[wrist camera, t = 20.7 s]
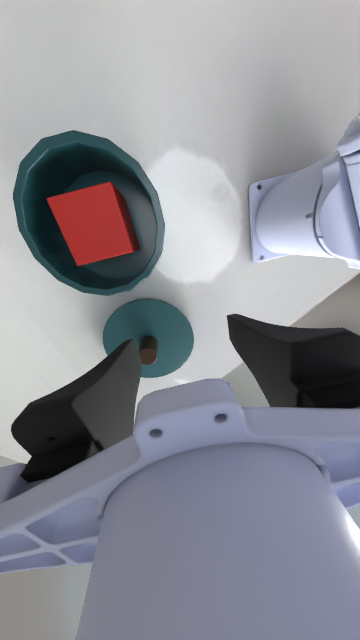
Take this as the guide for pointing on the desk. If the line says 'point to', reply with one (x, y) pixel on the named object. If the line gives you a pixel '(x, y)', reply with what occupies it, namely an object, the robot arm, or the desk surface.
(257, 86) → the desk surface
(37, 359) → the desk surface
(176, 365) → the lid
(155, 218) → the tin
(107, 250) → the red block
